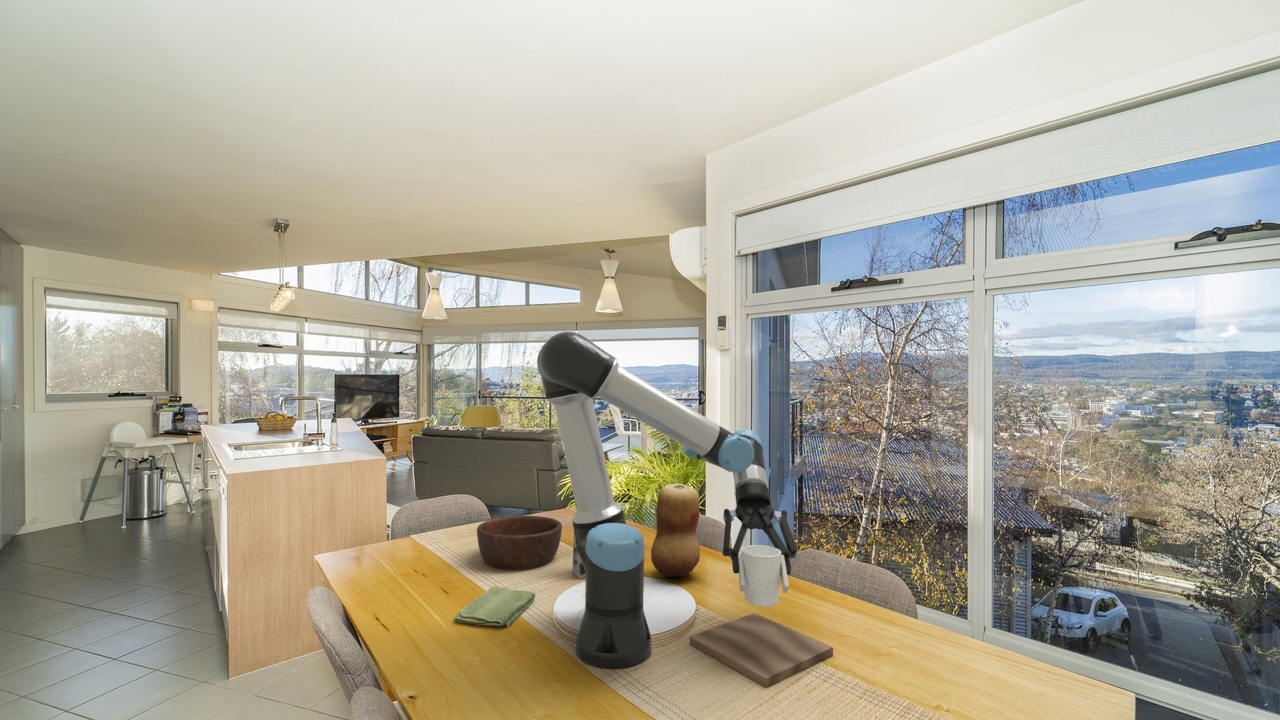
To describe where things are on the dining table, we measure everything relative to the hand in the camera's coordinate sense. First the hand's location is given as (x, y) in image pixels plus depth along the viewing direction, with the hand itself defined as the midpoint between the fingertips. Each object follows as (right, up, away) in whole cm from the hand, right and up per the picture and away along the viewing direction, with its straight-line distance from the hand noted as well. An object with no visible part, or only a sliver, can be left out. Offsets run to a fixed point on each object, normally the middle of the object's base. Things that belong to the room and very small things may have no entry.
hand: (764, 588), depth 108 cm
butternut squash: (-15, -15, +45) cm, 49 cm away
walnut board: (0, -13, +3) cm, 14 cm away
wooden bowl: (-61, -15, +57) cm, 85 cm away
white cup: (0, -4, +3) cm, 5 cm away
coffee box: (-38, -15, +46) cm, 61 cm away
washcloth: (-57, -14, +19) cm, 62 cm away
